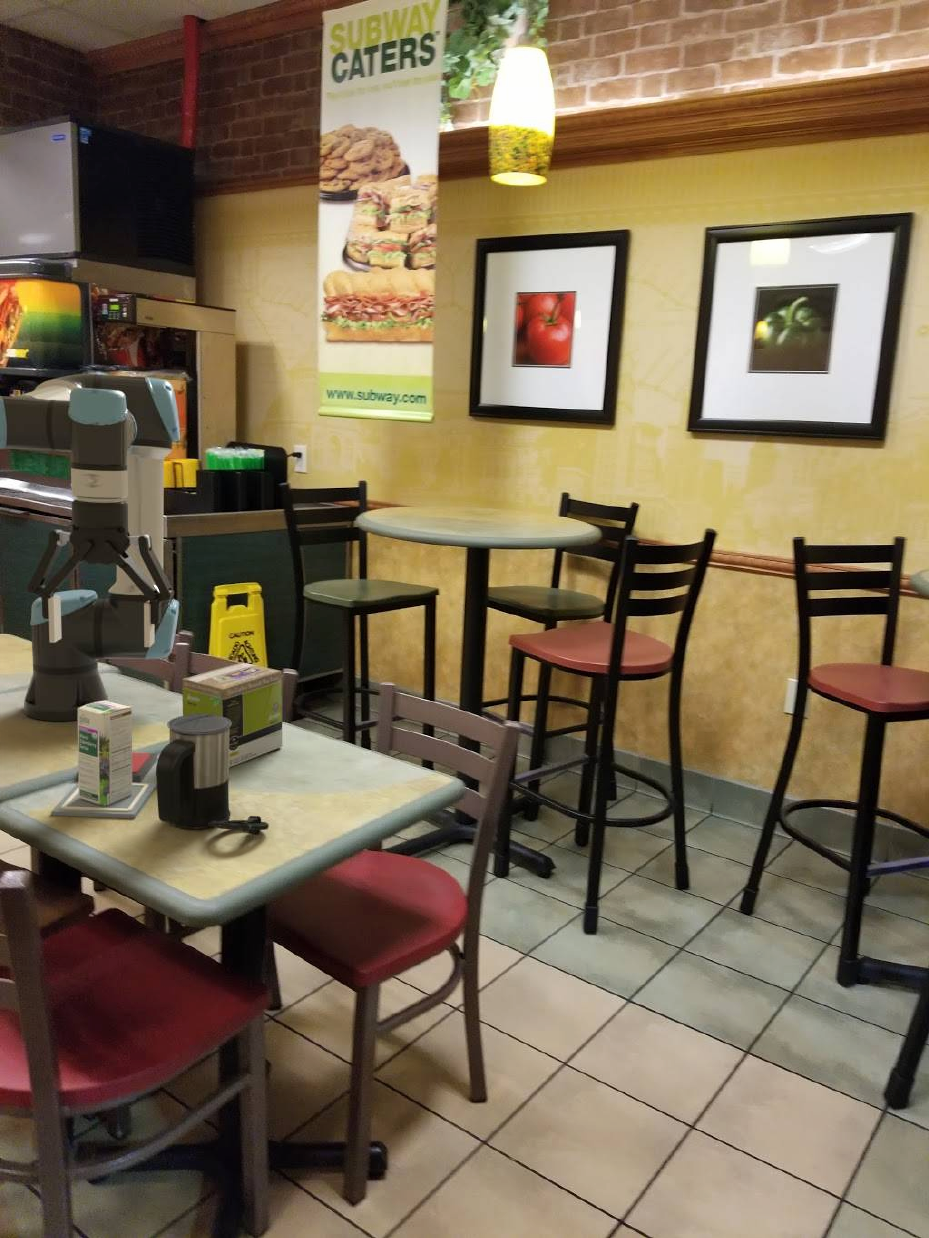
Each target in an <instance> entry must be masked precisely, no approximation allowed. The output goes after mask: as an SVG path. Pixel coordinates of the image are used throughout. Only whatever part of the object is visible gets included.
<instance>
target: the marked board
mask: <svg viewBox="0 0 929 1238" xmlns="http://www.w3.org/2000/svg"><path fill="white" fill-rule="evenodd" d="M156 790H157V782H132V795H130V796H128V797H126V798H124V799H122V800H119V801H117V802H115V803H112V804H110V805H108V806H105V807H104V806H102V805H99V804H96V803H93V802H90V801H87V800H84V799H79V781H78V782H77V783H76V784H75V785H74V786H73V787H72V788H71V790H70V791H69V792H68V793H67V794H65V796H64V797H63V798H62V799H61V800H60V801H59V802H58V804H56V806H55V807H54V808H53V809H52V810H51V813H50V816H55V817H56V816H60V817H61V816H62V817H63V816H64V817H88V818H89V817H91V818H112V819H113V818H118V819H119V818H121V819H136V817H137V816H138V815H139V813H140V812H141V810H142V809H143V808H144V806H145V805H146V803H147V802H148V800H149V799H150V797H152V794H153V793H154V792H155V791H156Z"/></svg>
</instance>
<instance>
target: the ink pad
mask: <svg viewBox="0 0 929 1238" xmlns="http://www.w3.org/2000/svg"><path fill="white" fill-rule="evenodd" d="M157 761H158V753H155V752H154V753H149V752H132V782H137V783H142V782H143V780H144V778H145V777H146V776H147V775H148V773H149V772H150V770H151V769H152V768H153V767H154V766H155V764H156V763H157ZM76 781H79V770H78V771H77V772H76Z"/></svg>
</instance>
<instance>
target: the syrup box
mask: <svg viewBox="0 0 929 1238" xmlns="http://www.w3.org/2000/svg"><path fill="white" fill-rule="evenodd" d="M77 746H78V747H77V750H78V751H77V753H78V754H77V757H78V759H77V760H78V763H77V764H78V768H77V769H78V771H79V780H78V782H79V799H84V800H87V801H90V802H93V803H96V804H99V805H102V806H104V807H105V806H108V805H110V804H112V803H115V802H117V801H119V800H122V799H124V798H126V797H128V796H130V795H132V753H133V706H131V705H129V706H128V705H124V704H120V703H116V702H112V701H109V700H108V701H106V700H105V701H98V702H94V703H90V704H87V705H84V706H82V707H80V708H78V720H77Z"/></svg>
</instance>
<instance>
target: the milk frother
mask: <svg viewBox="0 0 929 1238" xmlns="http://www.w3.org/2000/svg"><path fill="white" fill-rule="evenodd" d="M166 725H167V728H168V729H169V743H168V744H166V745H165V746H164V747H163V749H162V750H161V752H160V753H159V755H158V757H157V761H156V767H155V778H156V783H157V787H156V797H157V812H158V813H157V814H158V815H157V816H158V818H159V820H160V821H161V822H165V823H169V824H171V825H172V826H174V827H176V828H182V829H186V830H201V829H203V830H204V829H209V828H216V829H221V830H222V829H223V830H230V831H231V830H234V831H235V830H239V831H243V832H245V833H248V834H249V835H259V834H260V833H261V831H264V830H268V829H269V825H270V824H269V823H267V822H265V821H262V818H261V816H259V815H250V816H248V818H247V819H237V820H236V819H231V820H230V817H231V813H232V812H231V810H230V804H229V803H230V802H229V795H230V794H229V781H230V780H229V774H230V773H229V769H230V767H229V727H230V726H231V725H232V723H231V721H230V720H229V719H227V718H225V717H222V716H217V715H210V714H193V715H185V716H183V715H180V716H177V717H175V718H172V719H170V720H169V721H168V722H167V724H166Z"/></svg>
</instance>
